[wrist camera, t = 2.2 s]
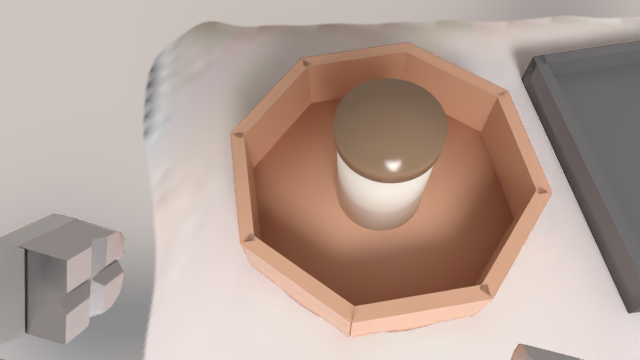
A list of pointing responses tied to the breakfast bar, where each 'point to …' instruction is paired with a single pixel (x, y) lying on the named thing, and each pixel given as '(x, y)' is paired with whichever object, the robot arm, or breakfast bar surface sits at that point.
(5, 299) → the robot arm
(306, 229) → the bowl
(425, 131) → the spice jar
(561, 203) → the breakfast bar surface
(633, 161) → the tray
